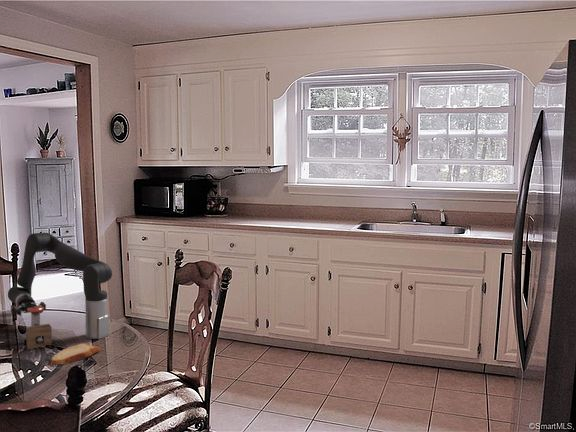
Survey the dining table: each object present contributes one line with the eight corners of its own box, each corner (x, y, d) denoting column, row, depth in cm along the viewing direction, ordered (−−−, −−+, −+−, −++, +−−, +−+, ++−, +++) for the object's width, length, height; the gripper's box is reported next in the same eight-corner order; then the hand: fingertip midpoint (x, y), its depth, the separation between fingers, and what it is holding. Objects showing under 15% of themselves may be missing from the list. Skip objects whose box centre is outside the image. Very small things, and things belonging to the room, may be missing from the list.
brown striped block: (26, 345, 219) (26, 327, 218) (49, 342, 224) (49, 323, 224) (28, 349, 215) (27, 330, 214) (51, 345, 220) (51, 327, 219)
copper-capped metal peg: (26, 338, 226) (26, 306, 225) (42, 336, 230) (42, 305, 228) (32, 349, 215) (31, 315, 214) (48, 346, 219) (48, 313, 217)
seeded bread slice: (48, 368, 199) (48, 358, 199) (55, 350, 216) (55, 342, 216) (97, 364, 204) (97, 355, 204) (100, 348, 221) (100, 339, 221)
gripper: (8, 296, 242) (13, 306, 229) (41, 293, 250) (47, 302, 237) (8, 312, 243) (13, 322, 230) (41, 308, 251) (47, 318, 238)
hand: (30, 312), depth 234 cm, fingers open, 8 cm apart
